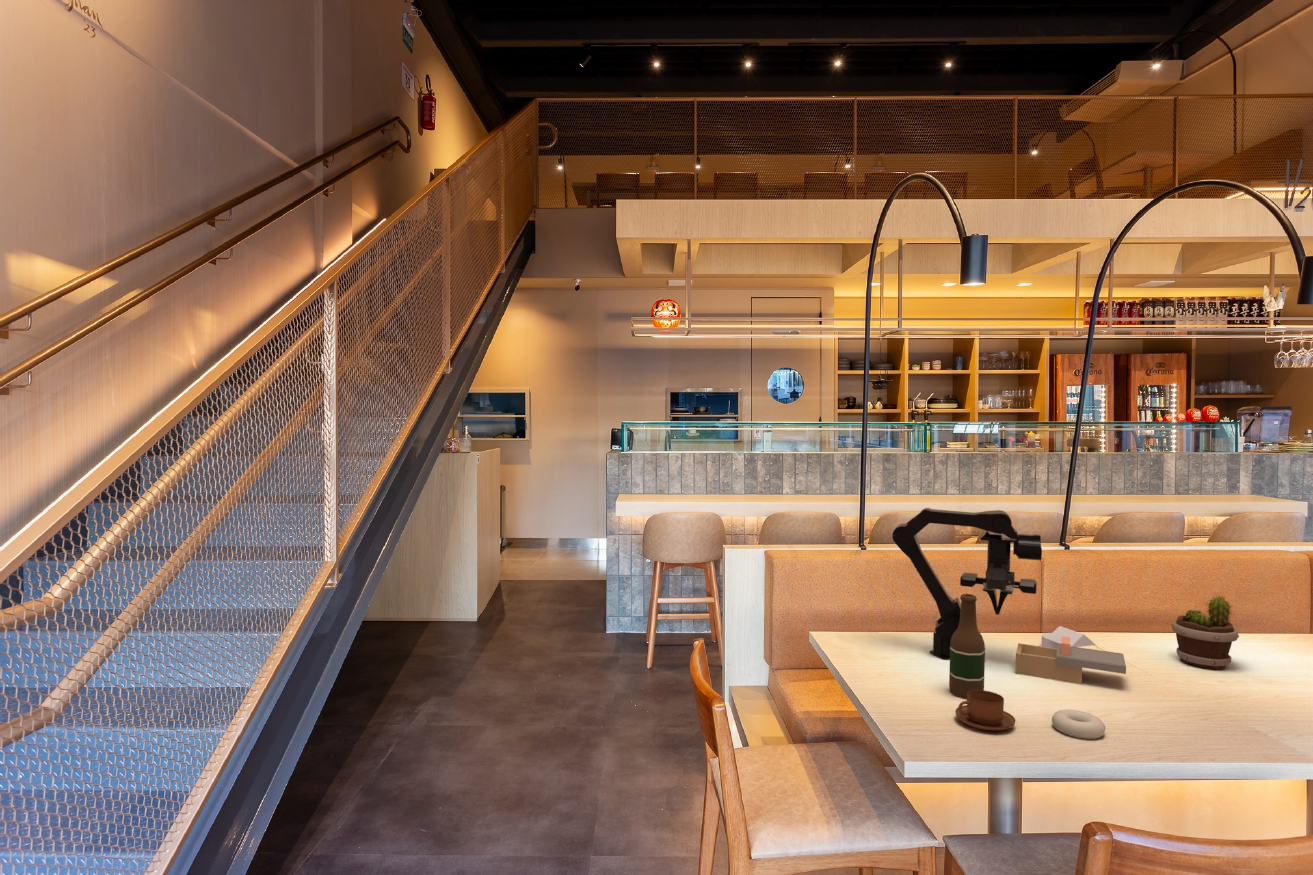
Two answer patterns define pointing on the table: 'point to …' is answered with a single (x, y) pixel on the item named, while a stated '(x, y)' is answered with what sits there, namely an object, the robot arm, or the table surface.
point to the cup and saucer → (985, 711)
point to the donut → (1078, 724)
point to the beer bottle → (967, 652)
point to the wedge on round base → (1055, 637)
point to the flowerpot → (1206, 635)
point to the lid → (1089, 658)
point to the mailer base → (1044, 664)
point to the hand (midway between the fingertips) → (997, 614)
